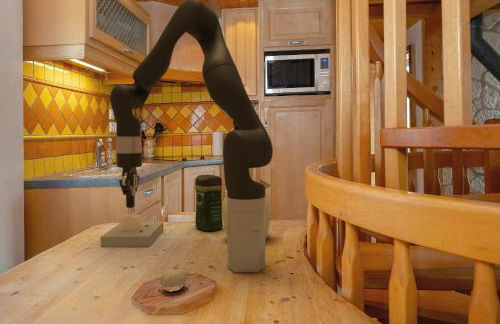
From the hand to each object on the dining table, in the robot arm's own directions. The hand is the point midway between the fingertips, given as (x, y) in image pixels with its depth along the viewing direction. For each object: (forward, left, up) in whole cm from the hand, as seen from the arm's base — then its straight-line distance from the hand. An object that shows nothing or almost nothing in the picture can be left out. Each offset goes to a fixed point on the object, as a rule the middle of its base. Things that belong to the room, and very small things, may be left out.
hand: (130, 207), depth 120 cm
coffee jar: (+12, -23, -10) cm, 28 cm away
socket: (0, -1, -10) cm, 10 cm away
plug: (0, 0, -9) cm, 9 cm away
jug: (-1, -36, -10) cm, 37 cm away
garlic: (-40, -21, -10) cm, 46 cm away
